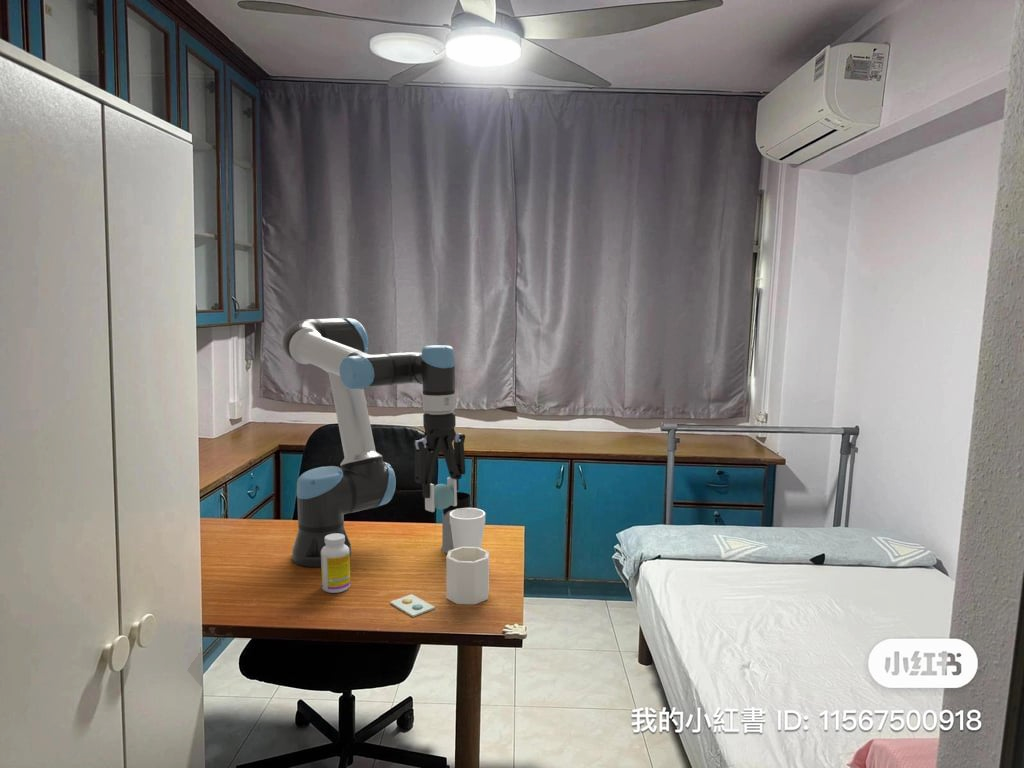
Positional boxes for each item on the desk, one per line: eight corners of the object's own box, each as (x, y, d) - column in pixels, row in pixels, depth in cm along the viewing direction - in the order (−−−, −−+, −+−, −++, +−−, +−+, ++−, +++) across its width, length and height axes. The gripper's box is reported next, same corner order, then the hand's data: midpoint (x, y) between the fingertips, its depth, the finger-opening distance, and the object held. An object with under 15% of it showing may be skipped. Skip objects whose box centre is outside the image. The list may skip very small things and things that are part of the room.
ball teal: (423, 508, 169) (423, 484, 168) (443, 503, 173) (443, 479, 172) (438, 514, 165) (438, 489, 164) (459, 508, 169) (458, 484, 168)
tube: (439, 594, 167) (438, 553, 166) (470, 582, 174) (470, 543, 172) (465, 608, 160) (465, 565, 159) (496, 595, 167) (497, 555, 165)
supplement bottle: (356, 587, 170) (355, 536, 169) (333, 596, 165) (331, 543, 164) (339, 579, 175) (337, 529, 173) (316, 588, 170) (314, 537, 168)
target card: (390, 603, 162) (390, 601, 162) (411, 595, 166) (411, 593, 166) (413, 617, 156) (412, 614, 156) (435, 608, 160) (434, 606, 160)
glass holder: (441, 555, 191) (441, 501, 189) (439, 536, 205) (439, 486, 203) (473, 553, 192) (473, 500, 190) (470, 535, 206) (470, 485, 204)
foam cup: (453, 569, 182) (452, 520, 180) (446, 556, 190) (446, 509, 188) (489, 565, 184) (489, 517, 182) (481, 552, 193) (481, 506, 191)
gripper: (415, 418, 157) (417, 519, 160) (480, 408, 170) (481, 503, 172) (396, 414, 162) (398, 512, 165) (461, 405, 175) (462, 496, 178)
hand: (441, 507), depth 169 cm, fingers closed on ball teal, 6 cm apart
